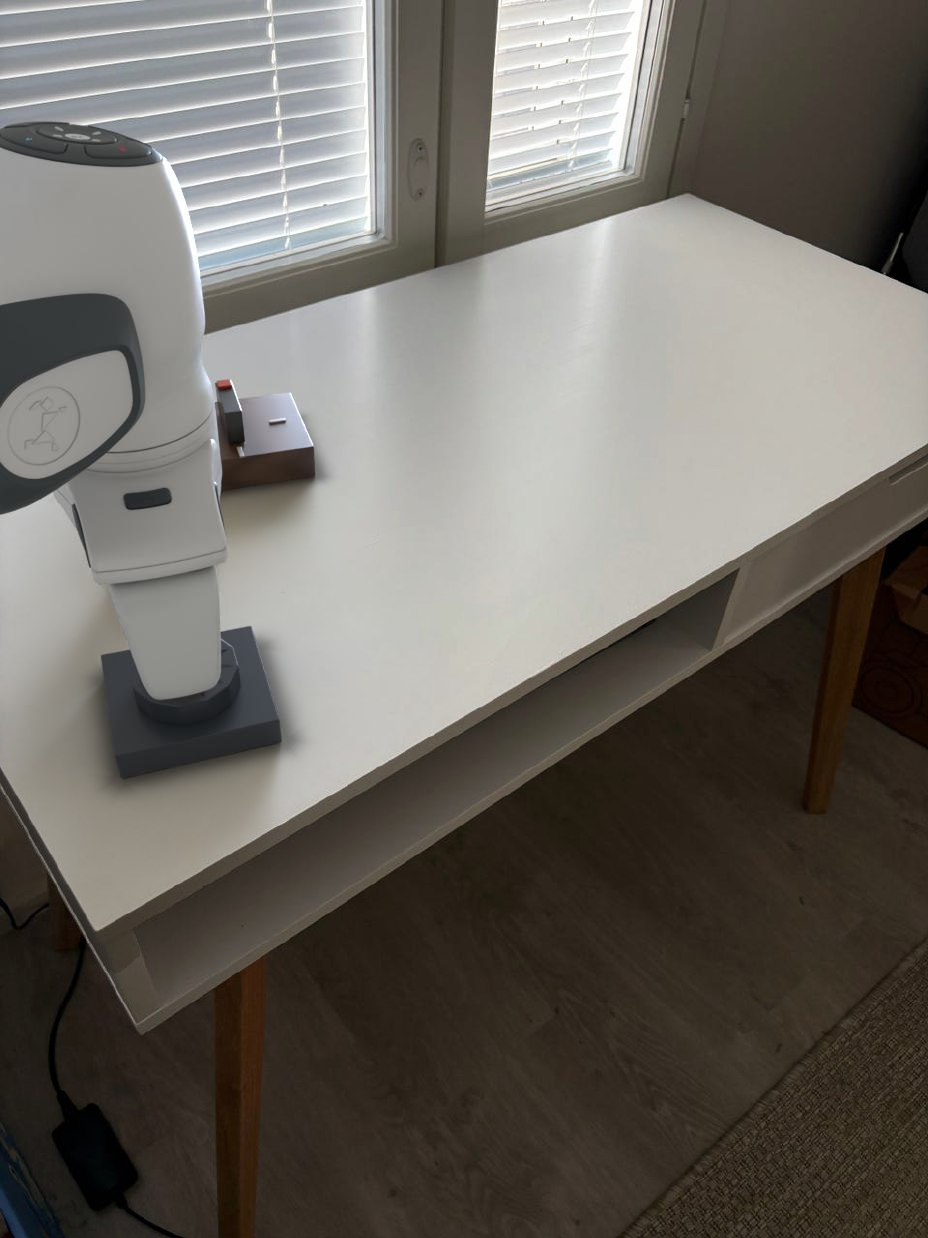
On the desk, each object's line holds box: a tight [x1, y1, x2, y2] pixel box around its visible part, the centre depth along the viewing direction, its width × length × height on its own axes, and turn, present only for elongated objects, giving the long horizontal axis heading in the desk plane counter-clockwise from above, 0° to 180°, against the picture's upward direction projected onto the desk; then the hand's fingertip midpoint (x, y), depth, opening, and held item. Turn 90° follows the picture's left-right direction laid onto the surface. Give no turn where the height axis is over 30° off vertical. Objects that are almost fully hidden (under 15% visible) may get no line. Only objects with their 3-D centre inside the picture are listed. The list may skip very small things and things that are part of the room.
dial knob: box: [214, 378, 245, 444], centre depth 84 cm, size 5×1×3 cm, turn 20°
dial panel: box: [214, 391, 316, 492], centre depth 86 cm, size 12×9×3 cm
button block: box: [100, 625, 283, 779], centre depth 65 cm, size 10×9×4 cm
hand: (168, 640), depth 63 cm, fingers closed
